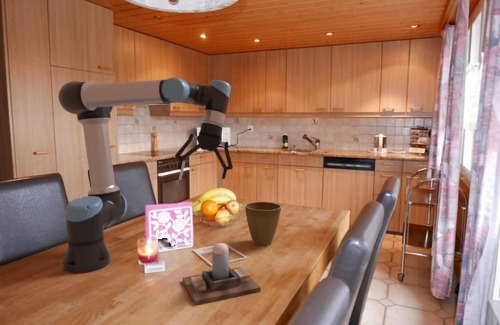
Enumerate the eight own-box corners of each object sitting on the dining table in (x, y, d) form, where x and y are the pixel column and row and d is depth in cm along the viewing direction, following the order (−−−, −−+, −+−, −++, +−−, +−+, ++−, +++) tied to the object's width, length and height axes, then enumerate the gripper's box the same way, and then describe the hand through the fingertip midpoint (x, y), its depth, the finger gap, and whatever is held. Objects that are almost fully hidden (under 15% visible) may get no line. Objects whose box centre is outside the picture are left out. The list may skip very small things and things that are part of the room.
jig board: (195, 304, 99) (195, 292, 99) (182, 281, 114) (182, 270, 113) (260, 291, 107) (260, 279, 107) (240, 270, 122) (240, 260, 121)
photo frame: (225, 242, 148) (247, 257, 132) (225, 245, 148) (247, 259, 132) (192, 249, 140) (211, 265, 125) (192, 251, 140) (211, 268, 125)
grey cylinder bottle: (215, 287, 107) (215, 247, 106) (210, 280, 112) (210, 241, 110) (231, 284, 109) (230, 244, 108) (225, 277, 114) (225, 239, 112)
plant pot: (259, 252, 139) (259, 211, 137) (238, 241, 151) (238, 204, 149) (288, 244, 148) (288, 206, 146) (265, 234, 160) (265, 199, 158)
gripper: (245, 134, 131) (233, 190, 129) (177, 118, 128) (164, 176, 126) (248, 131, 123) (235, 191, 122) (176, 114, 120) (162, 176, 119)
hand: (199, 183), depth 124 cm, fingers open, 13 cm apart
